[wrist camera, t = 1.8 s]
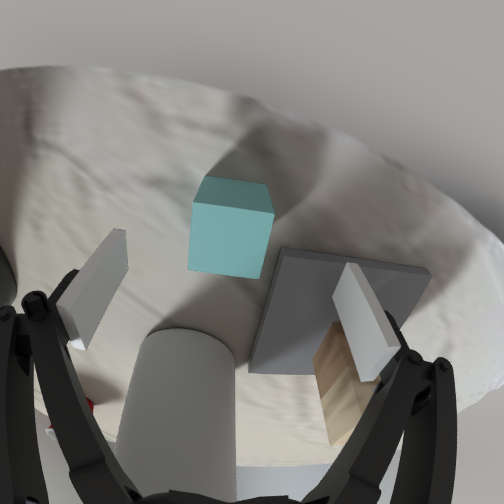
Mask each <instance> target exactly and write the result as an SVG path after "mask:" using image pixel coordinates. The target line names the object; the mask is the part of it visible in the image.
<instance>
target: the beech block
mask: <svg viewBox="0 0 504 504" xmlns="http://www.w3.org/2000/svg"><path fill="white" fill-rule="evenodd" d="M380 380H381V378H380V375H378V376H377V377H376V378H375V379H374V381H366V382H361V381H360V378H359V374H358V371H357V368H356V366H346V368H345V369H344V371H343V372H342V373H341V375H340V376H339V377H338V379H337V380H336V381H335V383H334V384H333V385H332V387H331V388H330V389H329V390H328V392H327V393H326V394H325V395H324V397H323V398H322V399H321V404H322V408H323V413H324V418H325V423H326V428H327V433H328V438H329V443H330V446H333V445H340V444H346V442H347V441H348V439H349V437H350V436H351V434H352V432H353V431H354V429H355V427H356V425H357V424H358V422H359V420H360V418H361V416H362V414H363V413H364V411H365V409H366V407H367V405H368V403H369V401H370V399H371V397H372V395H373V393H374V391H375V390H374V391H373V392H371V390H372V389H373V388H374V387H375V386H376V385H377V384H378V383H379V382H380Z"/></svg>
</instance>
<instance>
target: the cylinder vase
mask: <svg viewBox="0 0 504 504" xmlns="http://www.w3.org/2000/svg"><path fill="white" fill-rule="evenodd" d="M114 456H115V458H116V459H117V461H118V463H119V464H120V466H121V468H122V469H123V471H124V472H125V474H126V475H127V476H128V477H129V479H130V480H131V481H132V482H133V484H134V485H135V486H136V488H137V489H138V491H139V492H140V493H141V495H142V496H143V498H144V497H146V496H149V495H152V494H156V493H162V492H169V489H170V490H176V491H182V492H189V493H197V494H201V495H204V496H207V497H211V498H214V499H217V500H221V501H225V502H237V497H236V496H237V494H236V493H237V492H236V436H235V360H234V357H233V355H232V353H231V351H230V350H229V349H228V348H227V347H226V346H225V345H224V344H223V343H222V342H220V341H219V340H217V339H215V338H214V337H212V336H209V335H207V334H205V333H202V332H198V331H194V330H189V329H179V328H174V329H165V330H160V331H157V332H155V333H152V334H151V335H149V336H148V337H147V338H146V339H145V340H144V341H143V342H142V344H141V346H140V350H139V353H138V356H137V360H136V363H135V367H134V370H133V374H132V378H131V381H130V385H129V389H128V393H127V397H126V401H125V405H124V409H123V413H122V417H121V422H120V426H119V431H118V435H117V440H116V445H115V450H114Z"/></svg>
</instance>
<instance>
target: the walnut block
mask: <svg viewBox="0 0 504 504" xmlns="http://www.w3.org/2000/svg"><path fill="white" fill-rule="evenodd" d="M312 363H313V367H314V371H315V376H316V380H317V385H318V390H319V394H320V399H322V398H323V397H324V395H325V394H326V393H327V392H328V390H329V389H330V388H331V387H332V385H333V384H334V383H335V381H336V380H337V379H338V377H339V376H340V375H341V373H342V372H343V371H344V369H345V368H346V366H356V365H355V362H354V359H353V356H352V353H351V350H350V347H349V344H348V341H347V338H346V335H345V332H344V329H343V326H342V323H338V322H332V324H331V326H330V328H329V330H328V332H327V334H326V335H325V337H324V339H323V341H322V343H321V345H320V346H319V348H318V350H317V352H316V354H315V355H314V357H313V359H312Z"/></svg>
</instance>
